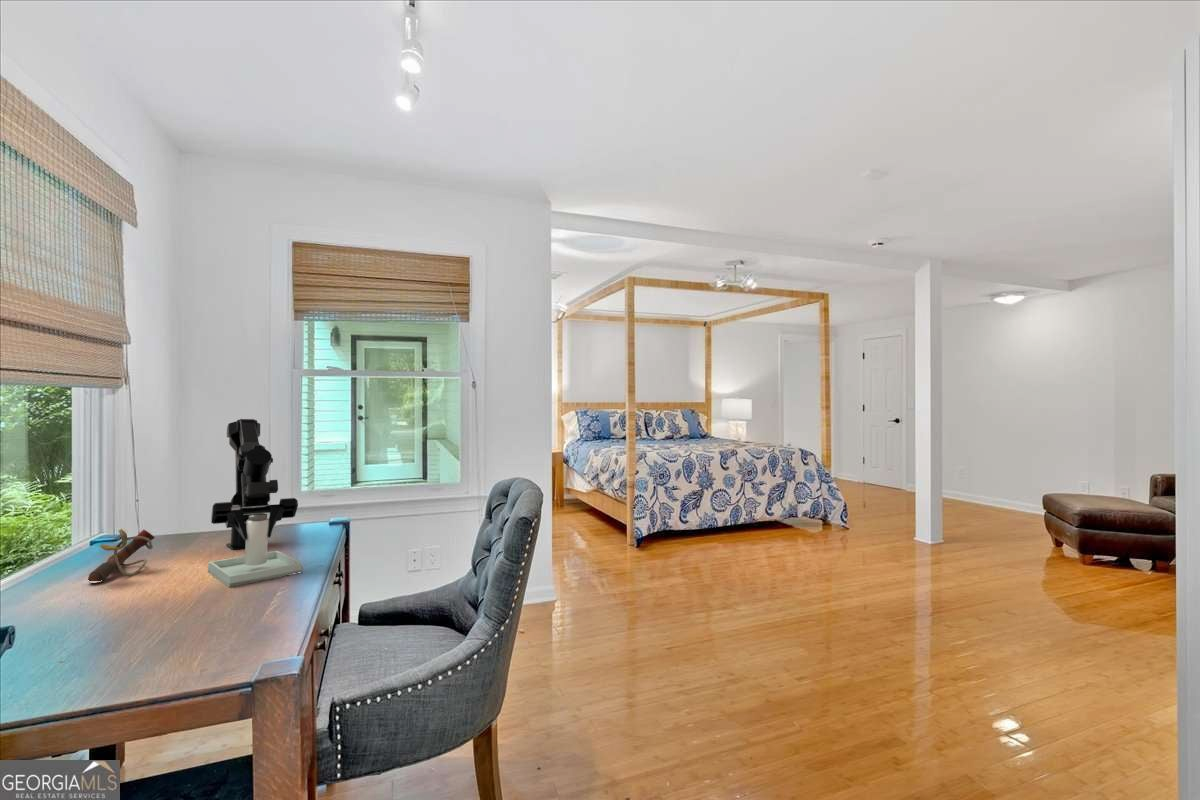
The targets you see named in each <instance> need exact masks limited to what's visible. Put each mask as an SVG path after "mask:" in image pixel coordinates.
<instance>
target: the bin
mask: <svg viewBox="0 0 1200 800" xmlns="http://www.w3.org/2000/svg"><path fill="white" fill-rule="evenodd" d="M244 562H245V555H243V556H242V555H241V556H236V557H231V558H225V559H219V560H213V561H208V565H207V568H208V569H207V573H209V574H210V575H211V576H213V578H214V577H215V578H216V579H217V580H219V581H220V582H222V583H223V584H224V585H226V586H227V587H229V588H233V587H236V586H243V585H247V584H252V583H259V582H262V581H267V580H274V579H278V578H277V577H279V578H282V577H281V576H284V577H286V576H285V575H289V576H291V575H290V574H293V573H298V572H302V571H303V563H302V562H300V560H296V559H295V558H293V557H291V556H288V554H285V553H283V552H281V551H279V550H273V551H267V562H266V563H264V564H261V565H253V566H249V565H245V564H244ZM302 573H303V572H302Z"/></svg>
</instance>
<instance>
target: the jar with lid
mask: <svg viewBox="0 0 1200 800" xmlns="http://www.w3.org/2000/svg"><path fill="white" fill-rule="evenodd" d="M268 526H269V517H268V513H257V514H251V515H249V519H248V520H247V523H246V532H247V539H246V543H245V548H244V556H245V562H244V564H245V565H249V566H253V565H261V564H264V563H266V562H267V552H268V546H269V545H268V542H269V541H268V540H269V538H268Z"/></svg>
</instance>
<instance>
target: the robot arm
mask: <svg viewBox="0 0 1200 800" xmlns="http://www.w3.org/2000/svg"><path fill="white" fill-rule="evenodd" d="M226 426H227V427H226V438H228V440H229V441H228V442H229V443H228V444H229V445H230V447H231V448H232V449H233V451H234V452H235V455H234V456H235V457H234V458H235V493H234V495H233V497H232V498H231V500H230V501H225V502H224V501H223V502H215V503H213V505H212V509H211V517H210V518H211V520H210V521H211V524H213V525H215V524H216V525H218V524H224V525H225V527H226V529H229V528H230V543H228V542H227V543H226V544H225V546H226V547H228V548H229V549H232V550H239V549H245V543H246V539H247V532H246V523H247V520H248V519H249V515H251V514H257V513H264V514H269V516H268V519H269V526H268V539H270V538H271V536H272V533H273V530H274V527H275V525H276V524H277V522H279V521H282V519H287V518H294V517H296V514H297V510H298V507H299V502H298V499H297V498H296V497H290V498H280V500H279V503H278V504H269V502H271V494H277V492H278V491H279V482H278V479H270V480H269V481H267V475H268V473H269V469H270V465H271V464H273V462H274V458H273V457H272V453H271V452H270V451H269V450H268V449H266V446H264V445H262V444H260V441H259V437H260V436H261V423H259V422H258V421H257V419H254V418H240V419H237V420H236V421H233V422H229V423H228V424H227V425H226Z"/></svg>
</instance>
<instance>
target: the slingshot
mask: <svg viewBox="0 0 1200 800" xmlns="http://www.w3.org/2000/svg"><path fill="white" fill-rule="evenodd" d="M118 533H119V535H120V537H121V541H119V542H118V544H116V545H109V544H104V543H102V544H100V545H99V547H100V548H101V549H103V550H105V551H113V554H112V555H110V556H109V557H108V559H107V561H106V562H103V563H101V564H100V565H99V566H97V567H96V568H95V569H94V570H93V571H91V572H90V573H89V574H88V577H87V581H88V580H89V581H101V580H103V581H105V580H106V579H107V578H108V577H109V576H111V575H112V574H113V573H114V572H115V570H116V569H117V568H118V570H119V571H120V573H121V574H122V575H124V576H125V577H126V576H127V577H132V576H131V575H133V576H135V575H137V574H138V573H140V571H142V570H143V568H144V567H145V566H146V564H147V562H148V560H147V558H145V559H144V558H143V559H139V560H137V561H134V562H129V563H125V561H126V560H128V559H129V558H130V557H131V556H132V555H134V554H135V553H136V552H137V551H138V550H140V549H141V548H142V547H144V546H145V547H146V548H147V549H148V550H153V548H154V546H153V543H152V542H153V541H152V540H154V539H155V536H154V535H153V534H151V532H149V531H147V530H145V529H142V530H141V531H140V532H139V533H137V535H134V536H130V537H128V535H127V533H126V531H125V530H124V529H122V528H120V529H118ZM130 540H131V541H130ZM128 541H130V542H129V543H128V544H127V542H128ZM118 550H119V551H118ZM139 563H142V564H141V566H140V567H139V568H138V569H137V570H135V571H134V572H132V573H128V572H126V571H125V570H124V569H123V567H129V566H133V565H136V564H139ZM136 573H137V574H136ZM134 574H135V575H134ZM104 579H105V580H104ZM89 581H88V582H89Z"/></svg>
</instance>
